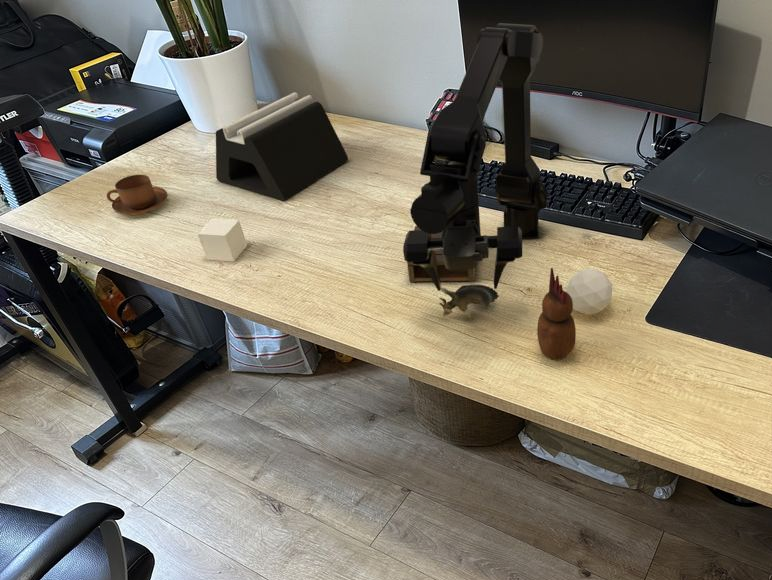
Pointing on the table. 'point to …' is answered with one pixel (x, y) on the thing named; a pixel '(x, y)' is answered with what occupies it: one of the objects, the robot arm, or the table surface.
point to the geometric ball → (589, 291)
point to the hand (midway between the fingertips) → (467, 288)
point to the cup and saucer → (136, 195)
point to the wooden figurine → (556, 322)
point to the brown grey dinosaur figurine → (468, 298)
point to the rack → (445, 275)
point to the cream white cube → (222, 239)
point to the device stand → (278, 148)
